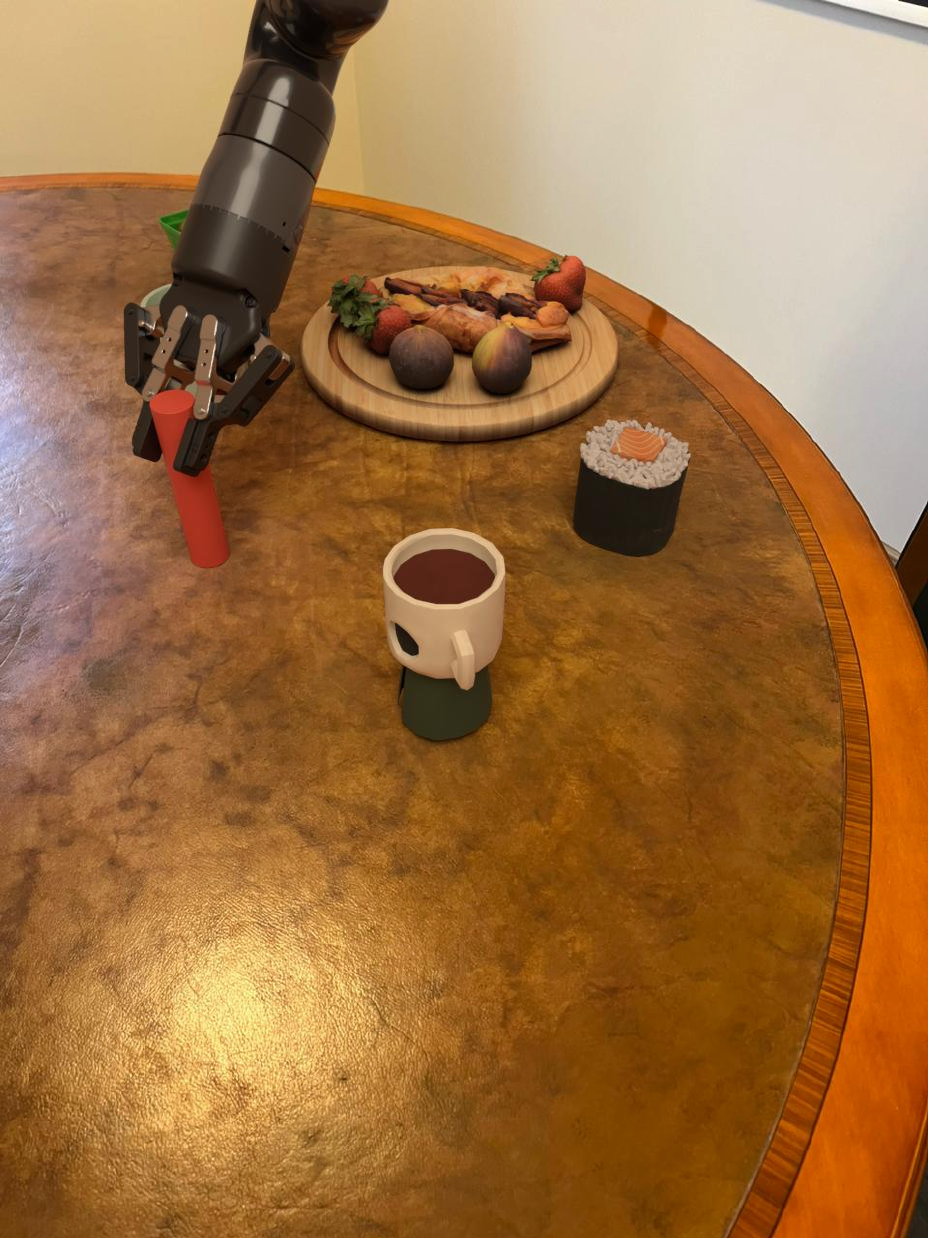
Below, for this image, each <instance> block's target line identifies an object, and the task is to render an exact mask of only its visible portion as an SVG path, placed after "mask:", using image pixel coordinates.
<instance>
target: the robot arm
mask: <svg viewBox="0 0 928 1238" xmlns="http://www.w3.org/2000/svg"><path fill="white" fill-rule="evenodd" d="M389 3H390V0H255V4H254V7H253V10H252V15H251V19H250V24H249V27H248V32H247V38H246V43H245V47H244V53H243V58H242V66H241V69H240V72H239V75H238V76H237V77H238V78H237V79H236V82H235V84H234V86H233V89H232V90H231V91H232V92H231V94H230V97H229V100H228V103H227V105H226V109H225V112H224V116H223V118H222V121H221V124H220V127H219V131H218V133H217V136H216V138H215V142H214V144H213V146H212V148H211V150H210V152H209V155H208V157H207V158H206V160H205V162H204V165H203V167H202V169H201V172H200V174H199V177H198V181H197V183H196V187H195V189H194V192H193V195H192V199H191V201H190V204H189V207H188V209H189V210H188V213H187V216H186V219H185V222H184V225H183V228H182V231H181V234H180V237H179V240H178V243H177V246H176V249H175V251H174V253H173V256H172V259H171V263H170V266H171V270H172V277H173V278H172V282H171V284H172V285H171V287H170V288H169V290H168V291H167V292H166V293H165V294H164V295H163V297H162V298H161V301H160V304H157V305H152V306H148V307H140V305H139V304H137V303H135V302H132V301H131V302H128V303H127V304H126V305H125V306H124V307H123V347H124V353H123V354H124V381H125V384H126V385H128V386H130V387H132V388H133V389H134V390H135V391H136V392H137V393H138V394H139V395H140V396H141V397H142V400H143V401H142V407H141V410H140V412H139V415H138V419H137V421H136V424H135V428H134V431H133V432H132V433H133V434H132V436H131V445H132V446H133V447H132V454H133V455H134V456H135V457H138V458H141V459H143V460H146V461H149V462H152V463H159V462H160V460H161V458H162V456H163V454H162V450H161V446H160V442H159V439H158V435H157V431H156V428H155V424H154V420H153V416H152V413H151V409H150V401H151V399H152V398H153V397H154V396H155V395H157V394H159V393H161V392H164V391H168V390H184V391H185V389H186V387H187V386H188V385H190V384H192V383H193V382H194V381H195V382H196V383H197V392H196V397H195V403H194V408H193V414H194V417H195V418H194V419H191V418H188V420H187V423H186V426H185V429H184V432H183V435H182V438H181V441H180V444H179V447H178V450H177V453H176V456H175V459H174V462H173V469H174V470H175V471H177V472H180V473H183V474H186V475H189V476H192V477H197V476H198V475H199V474H200V472H201V471H204V470H205V468H206V467H207V466H208V463H209V464H210V461H211V457H212V454H213V451H214V448H215V446H216V442H217V439H218V436H219V433H220V431H221V429H223V428H225V427H226V426H240V427H242V428H244V427H245V428H246V427H247V426H248V427H249V425H250V424H251V423H252V421H253V420H254V419H255V418H256V416H258V414H259V413H260V412H261V410H262V409H263V408H264V407H265V406H266V405H267V403H268V402H269V401H270V399H271V398H272V397H273V396H274V395H275V393H276V392H277V391H278V390H279V388H281V386H282V385H283V384H284V382H285V381H286V380H287V379H288V377H289V376H290V375H291V374H292V373H293V372H294V370H295V368H296V359H295V358H294V357H292V356H291V355H289V353H287V352H285V351H284V350H282V349H280V348H279V347H278V346H277V345H276V344H275V343H274V342H273V341H272V340H271V339H270V338H271V326H270V325H271V324H270V321H271V316H272V314H273V313H276V312H277V311H278V309H279V307H280V304H281V301H282V298H283V295H284V292H285V289H286V286H287V283H288V281H289V278H290V275H291V272H292V268H293V266H294V263H295V260H296V257H297V254H298V251H299V248H300V245H301V242H302V239H303V236H304V234H305V230H306V228H307V224H308V220H309V219H310V218H309V217H310V212H311V208H312V202H313V198H314V193H315V191H316V190H315V189H316V185H317V184H318V182H319V178H320V175H321V172H322V168H323V166H324V163H325V160H326V156H327V155H328V151H329V148H330V144H331V141H332V138H333V134H334V131H335V127H336V120H337V109H336V108H337V107H336V104H335V100H334V98H333V96H334V93H335V89H336V86H337V83H338V79H339V76H340V73H341V71H342V67H343V64H344V62H345V60H346V58H347V55H348V53H349V51H350V50H351V47H352V46H354V45H355V44H356V43H357V42H358V41H359V40H360V39H362V38H363V37H365V36H366V35H367V34H368V33H370V31H372V30H373V29H374V28H375V27H376V26H377V25H378V24H379V22H380V21H381V20H382V18H383V16H384V14H385V13H386V11H387V9H388V6H389ZM163 329H164V331H163ZM160 338H162V340H161V342H160ZM174 360H176V361H178V362H180V363H182V364H181V365H179V366H177V365H175V364H174ZM249 360H250V364H249V365H248V368H247V370H246V371H245V372H244V373H243V374H242V376H241V372H242V367H243V364H244V363H245V362H248V361H249ZM220 377H221V378H220ZM169 378H170V380H169ZM168 380H169V382H168ZM167 382H168V384H167ZM166 384H167V386H166ZM165 386H166V388H165Z"/></svg>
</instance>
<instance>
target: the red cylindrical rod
mask: <svg viewBox="0 0 928 1238" xmlns="http://www.w3.org/2000/svg"><path fill="white" fill-rule="evenodd" d="M194 403H195V398H194V396H193V395H192V394H191V393H190V392H188V391H184V390H168V391H164V392H161V393H159V394H157V395H155V396H154V397H153V398H152V399H151V401H150V409H151V413H152V416H153V420H154V424H155V428H156V431H157V435H158V439H159V442H160V446H161V450H162V457H163V461H164V465H165V468H166V471H167V476H168V480H169V483H170V487H171V491H172V494H173V498H174V502H175V506H176V509H177V513H178V517H179V520H180V524H181V528H182V532H183V536H184V538H185V543H186V546H187V549H188V553H189V557H190V560H191V562H192V563H193V564H194V565H195V566H197V567H199V568H202V569H203V568H204V569H209V568H210V569H211V568H215V567H219V566H221V565H222V564H224V563H225V562H226V561H227V560H228V558H229V557H230V548H229V543H228V539H227V535H226V531H225V526H224V522H223V521H224V520H223V517H222V513H221V508H220V503H219V499H218V495H217V490H216V486H215V482H214V477H213V473H212V468H211V465H210V464H211V463H210V462H209V463H208V466H207V467H206V468H205V470H204V471H201V472H200V474H199V475H198V476H197V477H192V476H189V475H186V474H183V473H180V472H177V471H175V470H174V469H173V462H174V459H175V456H176V453H177V450H178V447H179V444H180V441H181V438H182V435H183V432H184V429H185V426H186V423H187V420H188V418H191V419H194V418H195V417H194V414H193V408H194Z"/></svg>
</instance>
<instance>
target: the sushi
mask: <svg viewBox="0 0 928 1238" xmlns="http://www.w3.org/2000/svg"><path fill="white" fill-rule="evenodd" d="M592 428H593V430H591V431H589V430H587V431H586V433H585V436H586V437H585V442H581V443H580V445H579V446H580V447H579V451H580V454H579V455H580V462H579V470H578V478H577V484H576V485H577V486H576V491H575V492H576V493H575V501H574V508H573V516H572V525H573V529H574V531H575V532H576V533H577V534H578V536H579V537H580V538H581V539H583V540H584V541H585V542H588V543H589V544H591V545H594V546H596V547H598V548H601V549H605V550H608V551H611V552H614V553H617V554H620V555H622V556H627V557H635V558H641V557H647V556H653V555H655V554H657V553H659V552H660V551H661V550H663V549H664V548H665V547H666V546H667V544H668V543H669V540H670V539H671V537H672V535H673V533H674V532H675V526H676V521H677V516H678V510H679V505H680V499H681V495H682V492H683V488H684V484H685V480H686V476H687V473H688V468H689V465H690V461H691V457H692V455H691V452H690V451H689V449H688V447H689V445H690V442H687V441H683V442H682V440H679V439H677V438H676V437H674V436H672V435H673V433H672V432H670V431H669V432H666V430H665V428H664V427H663V428H659V427H658V426H655V427H653V424H652V423H651V422H650V421H648V422H647V424H646V425H645V426H642V425H641V424H640V423H639V422H638V421H637V420H636V419H632V420H629V419H627V420H625V421H620V422H618V421H617V420H615V419H607V420H606V421H605V423H604V424H603V426H602V425H601V426H599V425H594V426H593V427H592Z"/></svg>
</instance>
